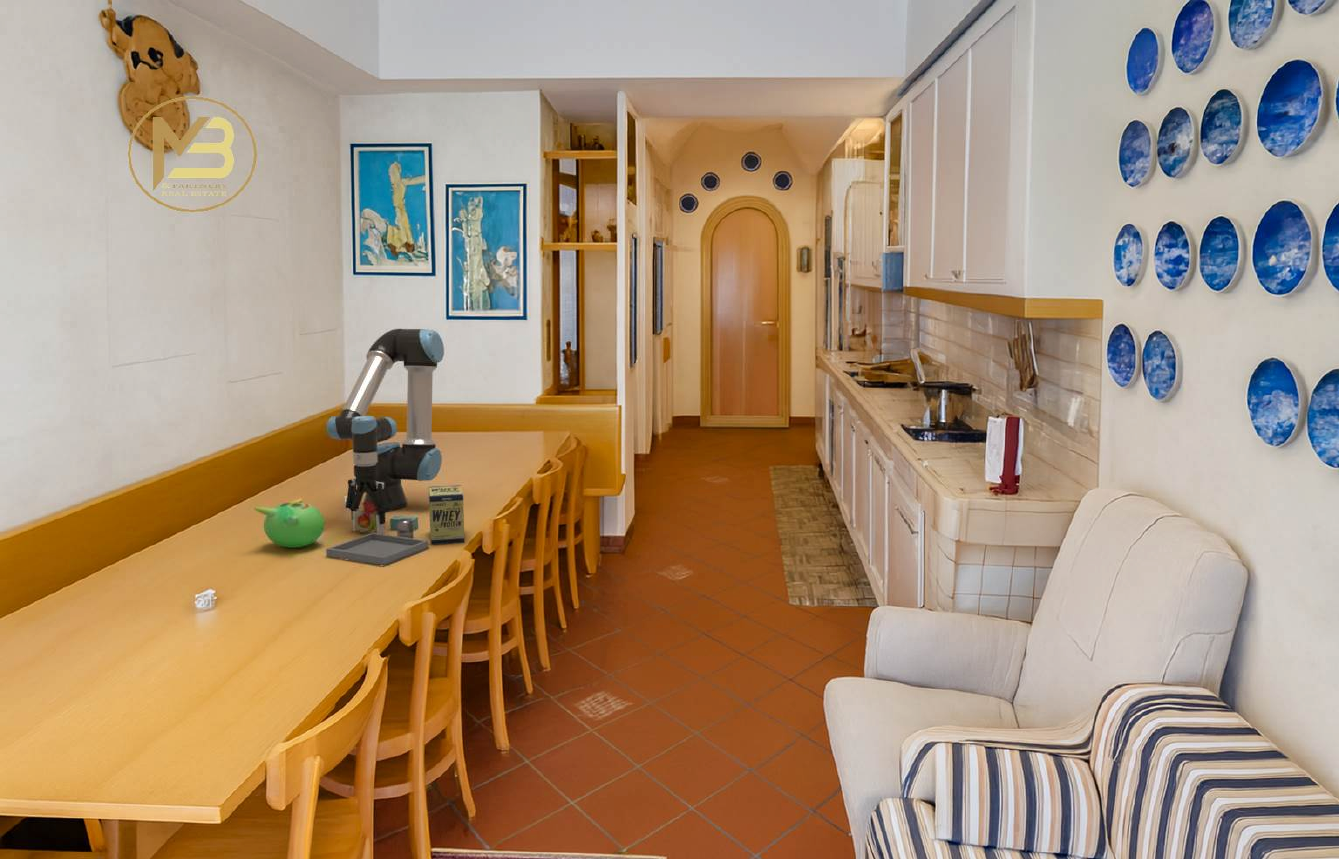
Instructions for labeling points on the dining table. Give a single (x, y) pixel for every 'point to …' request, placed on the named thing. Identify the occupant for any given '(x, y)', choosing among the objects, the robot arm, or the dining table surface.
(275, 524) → the green rounded blob
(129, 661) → the dining table surface
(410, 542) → the tray
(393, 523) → the teal brick
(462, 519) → the protein box
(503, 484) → the dining table surface
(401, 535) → the metal cylinder
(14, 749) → the dining table surface
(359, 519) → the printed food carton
